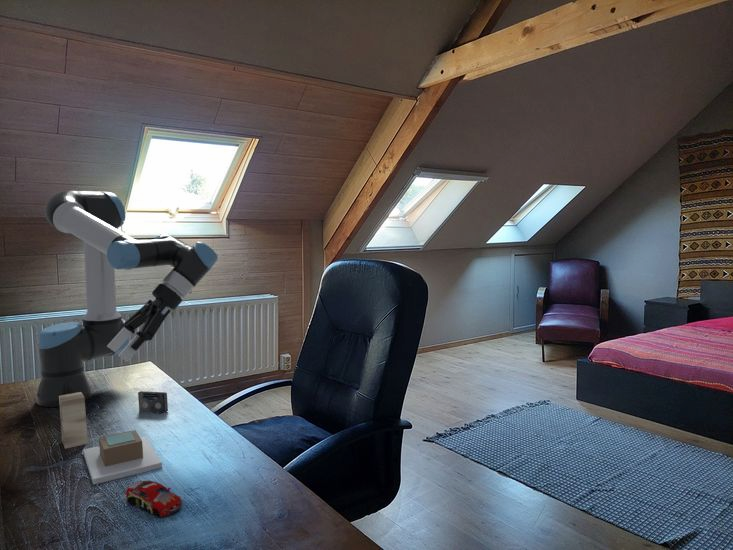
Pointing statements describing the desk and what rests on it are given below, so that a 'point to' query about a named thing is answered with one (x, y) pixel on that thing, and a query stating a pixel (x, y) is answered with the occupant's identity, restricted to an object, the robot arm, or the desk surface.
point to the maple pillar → (73, 419)
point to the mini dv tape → (153, 402)
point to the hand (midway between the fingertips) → (116, 354)
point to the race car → (153, 498)
